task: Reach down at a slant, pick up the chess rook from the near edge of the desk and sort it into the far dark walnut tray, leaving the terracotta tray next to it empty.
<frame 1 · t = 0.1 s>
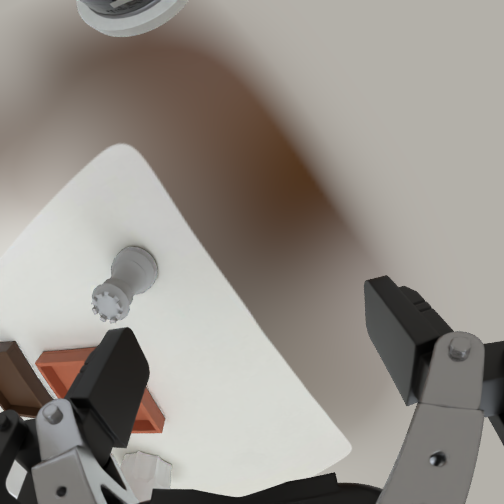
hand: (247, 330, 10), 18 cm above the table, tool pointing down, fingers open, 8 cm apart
walnut tray: (12, 377, 35), on the table
terracotta tray: (102, 387, 35), on the table
cup: (148, 462, 41), on the table
white box: (10, 464, 49), on the table
rook chess piece: (137, 266, 29), on the table
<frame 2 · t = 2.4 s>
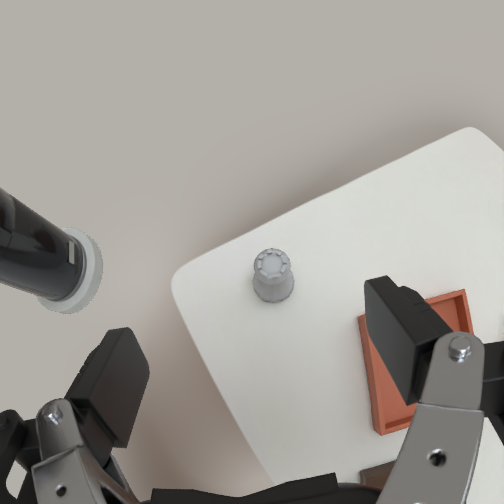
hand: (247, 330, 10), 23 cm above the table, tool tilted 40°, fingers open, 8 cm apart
walnut tray: (413, 496, 24), on the table
terracotta tray: (419, 360, 30), on the table
rook chess piece: (273, 283, 34), on the table
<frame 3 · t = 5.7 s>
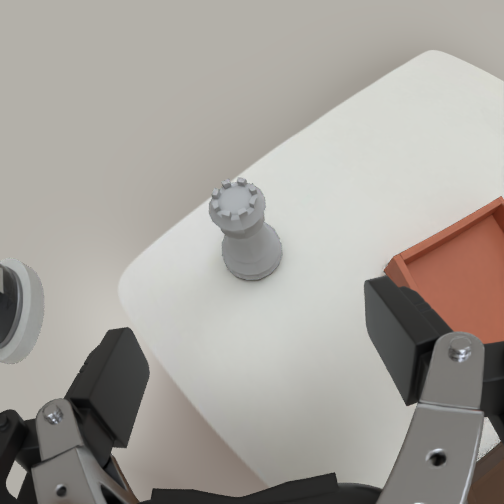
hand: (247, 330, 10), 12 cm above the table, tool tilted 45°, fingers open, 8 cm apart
terracotta tray: (482, 305, 20), on the table
rook chess piece: (253, 255, 24), on the table
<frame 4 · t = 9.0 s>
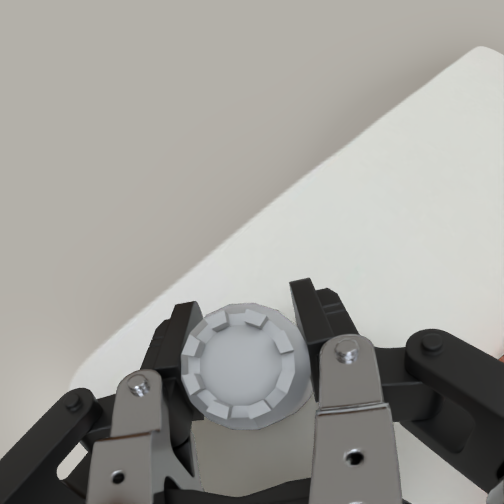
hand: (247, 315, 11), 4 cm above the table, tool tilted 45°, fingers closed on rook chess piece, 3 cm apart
rook chess piece: (268, 374, 14), on the table, touching gripper
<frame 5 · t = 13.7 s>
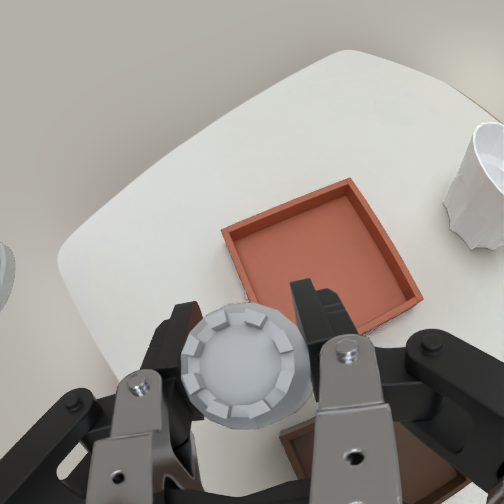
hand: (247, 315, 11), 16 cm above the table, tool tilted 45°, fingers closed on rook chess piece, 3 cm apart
walnut tray: (379, 461, 20), on the table
terracotta tray: (319, 273, 28), on the table
cup: (473, 218, 28), on the table
rook chess piece: (268, 373, 14), point 12 cm above the table, touching gripper
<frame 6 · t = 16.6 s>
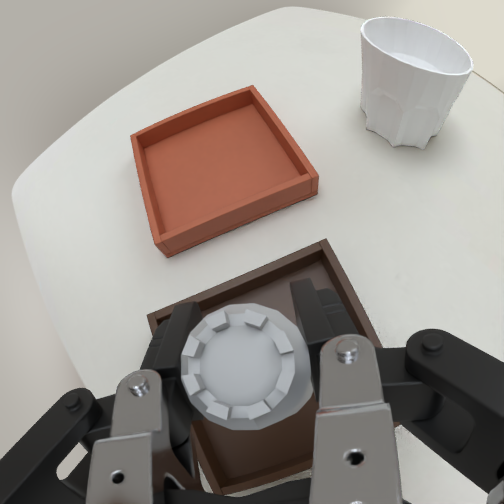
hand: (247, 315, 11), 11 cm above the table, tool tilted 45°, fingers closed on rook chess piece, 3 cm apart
walnut tray: (277, 373, 20), on the table
terracotta tray: (216, 167, 28), on the table
cup: (399, 121, 28), on the table
rook chess piece: (268, 374, 14), point 7 cm above the table, touching gripper
when the fingers open (5 cm above the table, at t = 18.7 s): rook chess piece stays where it is, resting on walnut tray.
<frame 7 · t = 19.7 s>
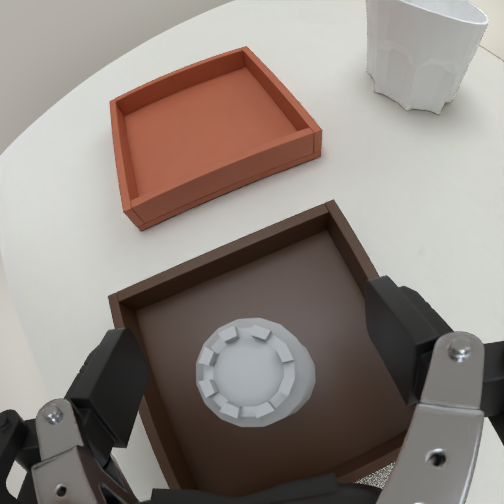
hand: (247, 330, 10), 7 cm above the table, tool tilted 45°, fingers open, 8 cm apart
walnut tray: (271, 373, 15), on the table
terracotta tray: (203, 131, 23), on the table
cup: (409, 86, 23), on the table
rook chess piece: (271, 376, 15), resting on walnut tray
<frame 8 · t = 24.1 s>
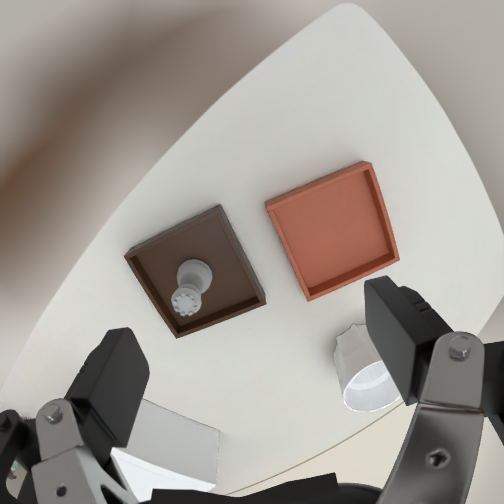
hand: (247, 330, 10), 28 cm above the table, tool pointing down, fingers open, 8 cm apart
walnut tray: (197, 272, 40), on the table
terracotta tray: (334, 229, 38), on the table
character figurine: (34, 428, 55), on the table
cup: (358, 343, 45), on the table
white box: (134, 455, 56), on the table
rook chess piece: (195, 273, 39), resting on walnut tray
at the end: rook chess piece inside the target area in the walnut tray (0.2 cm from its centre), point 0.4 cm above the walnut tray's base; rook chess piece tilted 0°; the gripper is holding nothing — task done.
